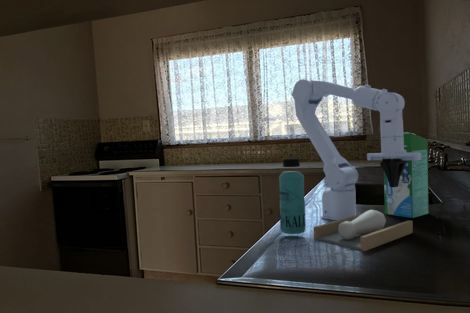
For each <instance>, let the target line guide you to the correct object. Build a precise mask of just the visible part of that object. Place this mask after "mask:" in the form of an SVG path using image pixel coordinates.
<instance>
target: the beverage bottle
mask: <svg viewBox="0 0 470 313" xmlns="http://www.w3.org/2000/svg"><path fill="white" fill-rule="evenodd" d="M300 166H301V164H300V159H299V158H297V157H287V158H283V162H282V167H283V168H297V167H298V168H299V167H300ZM278 180H279V190H278V191H279V192H278V194H279V229H280V232H281V233H283V234H286V235H298V234H304V233H305V232H306V226H307V225H306V221H307V219H306V201H305V176H304V174H303V173H302V172H301V171H299V170H289V171H288V170H287V171H286V170H285V171H282V172H281V173H280V175H279V176H278Z"/></svg>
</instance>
